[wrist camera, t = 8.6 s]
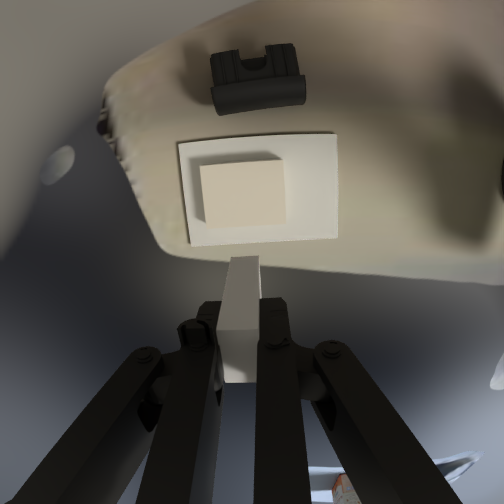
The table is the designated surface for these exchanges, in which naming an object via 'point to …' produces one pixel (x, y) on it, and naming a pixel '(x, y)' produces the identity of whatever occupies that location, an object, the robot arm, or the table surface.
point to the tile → (243, 193)
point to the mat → (295, 179)
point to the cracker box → (344, 491)
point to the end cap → (257, 80)
